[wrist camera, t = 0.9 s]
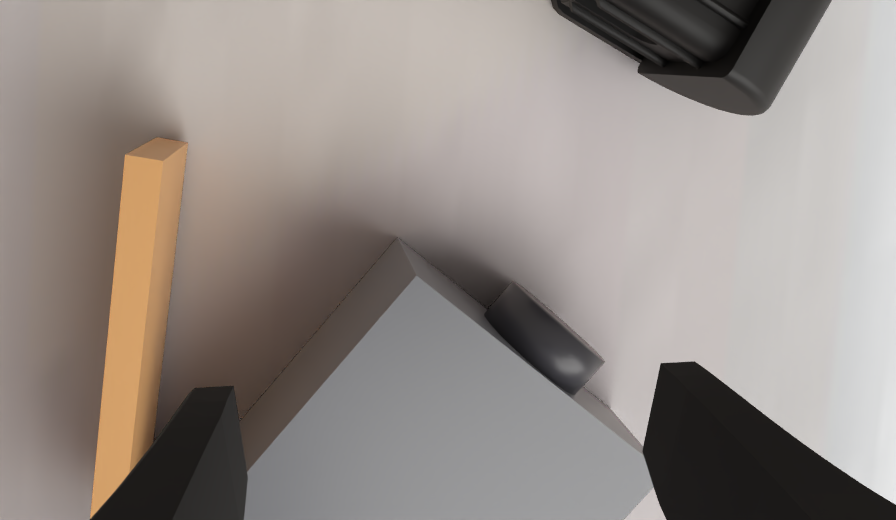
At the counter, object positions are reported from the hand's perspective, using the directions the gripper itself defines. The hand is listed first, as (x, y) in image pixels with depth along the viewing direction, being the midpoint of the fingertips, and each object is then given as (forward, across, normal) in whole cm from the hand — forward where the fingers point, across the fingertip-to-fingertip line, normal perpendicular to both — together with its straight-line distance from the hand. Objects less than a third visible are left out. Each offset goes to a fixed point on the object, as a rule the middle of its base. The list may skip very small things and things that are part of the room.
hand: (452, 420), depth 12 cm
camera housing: (+12, +1, +14) cm, 18 cm away
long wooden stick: (+13, +9, +7) cm, 17 cm away
